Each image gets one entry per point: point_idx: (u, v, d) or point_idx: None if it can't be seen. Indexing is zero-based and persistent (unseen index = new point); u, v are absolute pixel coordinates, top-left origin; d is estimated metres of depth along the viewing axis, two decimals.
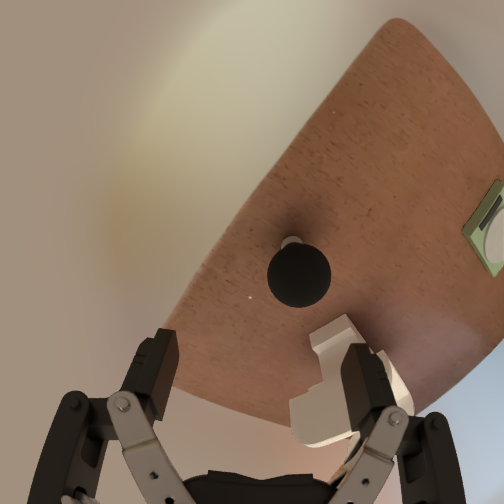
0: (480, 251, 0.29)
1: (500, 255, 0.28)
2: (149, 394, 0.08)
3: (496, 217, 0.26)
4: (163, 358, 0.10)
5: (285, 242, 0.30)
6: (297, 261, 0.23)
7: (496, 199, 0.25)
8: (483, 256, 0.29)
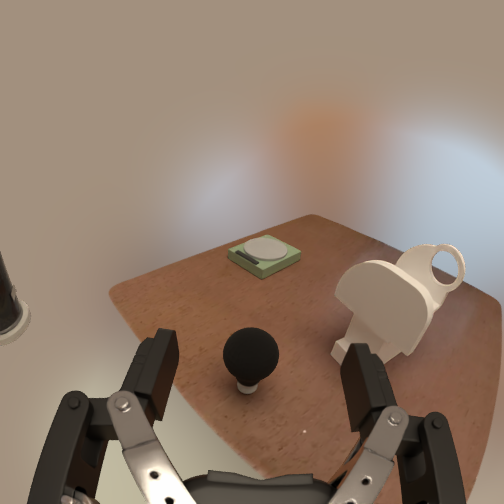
0: (276, 262, 0.54)
1: (281, 248, 0.58)
2: (149, 394, 0.08)
3: (250, 253, 0.56)
4: (163, 358, 0.10)
5: (239, 386, 0.30)
6: (228, 343, 0.27)
7: (237, 254, 0.56)
8: (281, 260, 0.55)
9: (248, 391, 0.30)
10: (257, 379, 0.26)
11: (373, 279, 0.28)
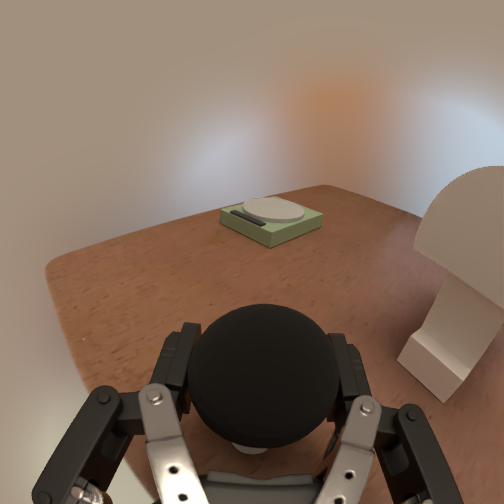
0: (290, 224, 0.37)
1: (295, 208, 0.41)
2: (181, 386, 0.09)
3: (251, 212, 0.38)
4: (192, 350, 0.10)
5: None
6: (198, 348, 0.09)
7: (234, 214, 0.38)
8: (297, 222, 0.38)
9: (255, 451, 0.12)
10: (283, 445, 0.08)
11: (497, 198, 0.10)
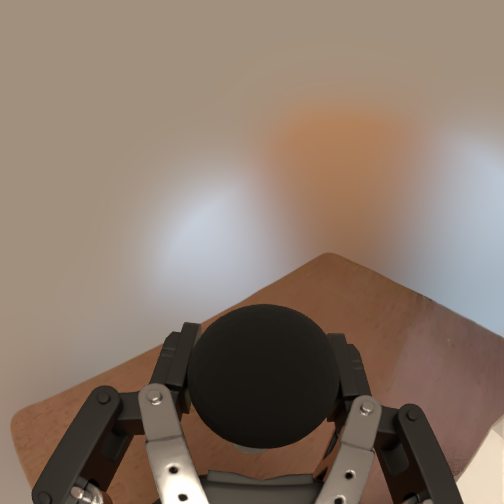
0: None
1: None
2: (181, 386, 0.09)
3: None
4: None
5: None
6: (197, 348, 0.09)
7: None
8: None
9: (255, 451, 0.12)
10: (283, 445, 0.08)
11: None
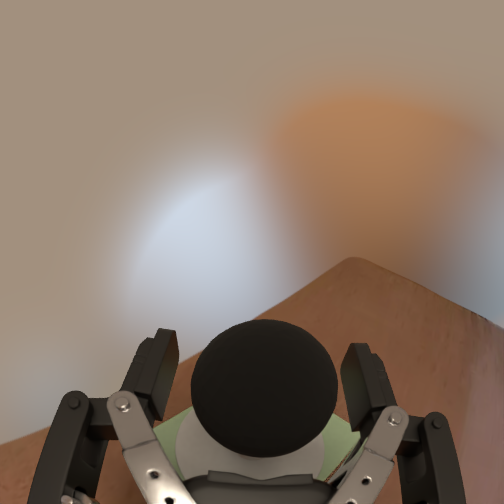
0: None
1: None
2: (149, 394, 0.08)
3: None
4: (163, 358, 0.10)
5: None
6: (200, 363, 0.09)
7: None
8: None
9: (256, 457, 0.12)
10: (283, 454, 0.08)
11: None
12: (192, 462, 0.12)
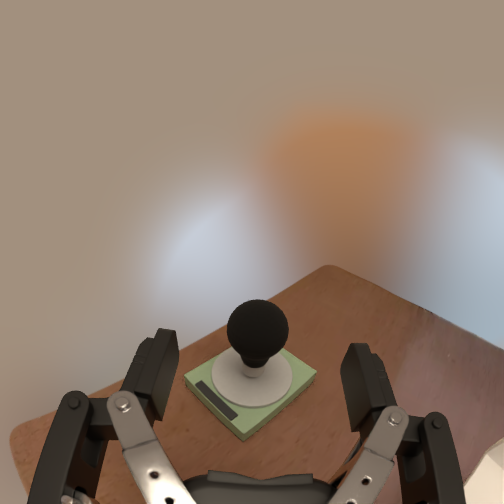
0: (271, 410, 0.25)
1: (280, 372, 0.29)
2: (149, 394, 0.08)
3: (221, 391, 0.27)
4: (163, 358, 0.10)
5: (244, 368, 0.28)
6: (232, 316, 0.25)
7: (199, 390, 0.27)
8: (280, 403, 0.26)
9: (255, 374, 0.27)
10: (265, 356, 0.24)
11: None
12: (221, 381, 0.28)
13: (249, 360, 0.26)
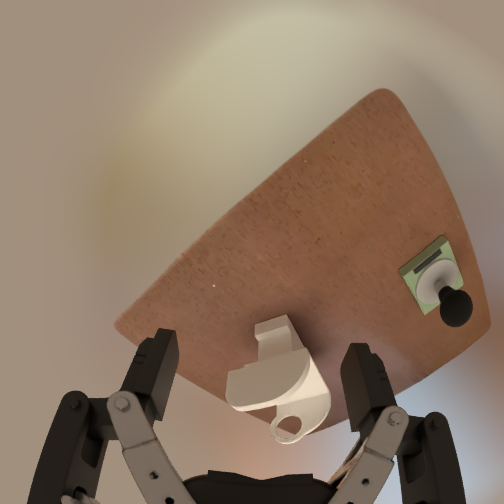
0: (412, 290, 0.41)
1: (432, 298, 0.41)
2: (149, 394, 0.08)
3: (432, 266, 0.38)
4: (163, 358, 0.10)
5: (441, 284, 0.38)
6: (466, 302, 0.31)
7: (435, 251, 0.37)
8: (415, 295, 0.42)
9: (435, 288, 0.38)
10: (440, 309, 0.34)
11: (275, 386, 0.34)
12: (438, 265, 0.38)
13: (443, 295, 0.35)
